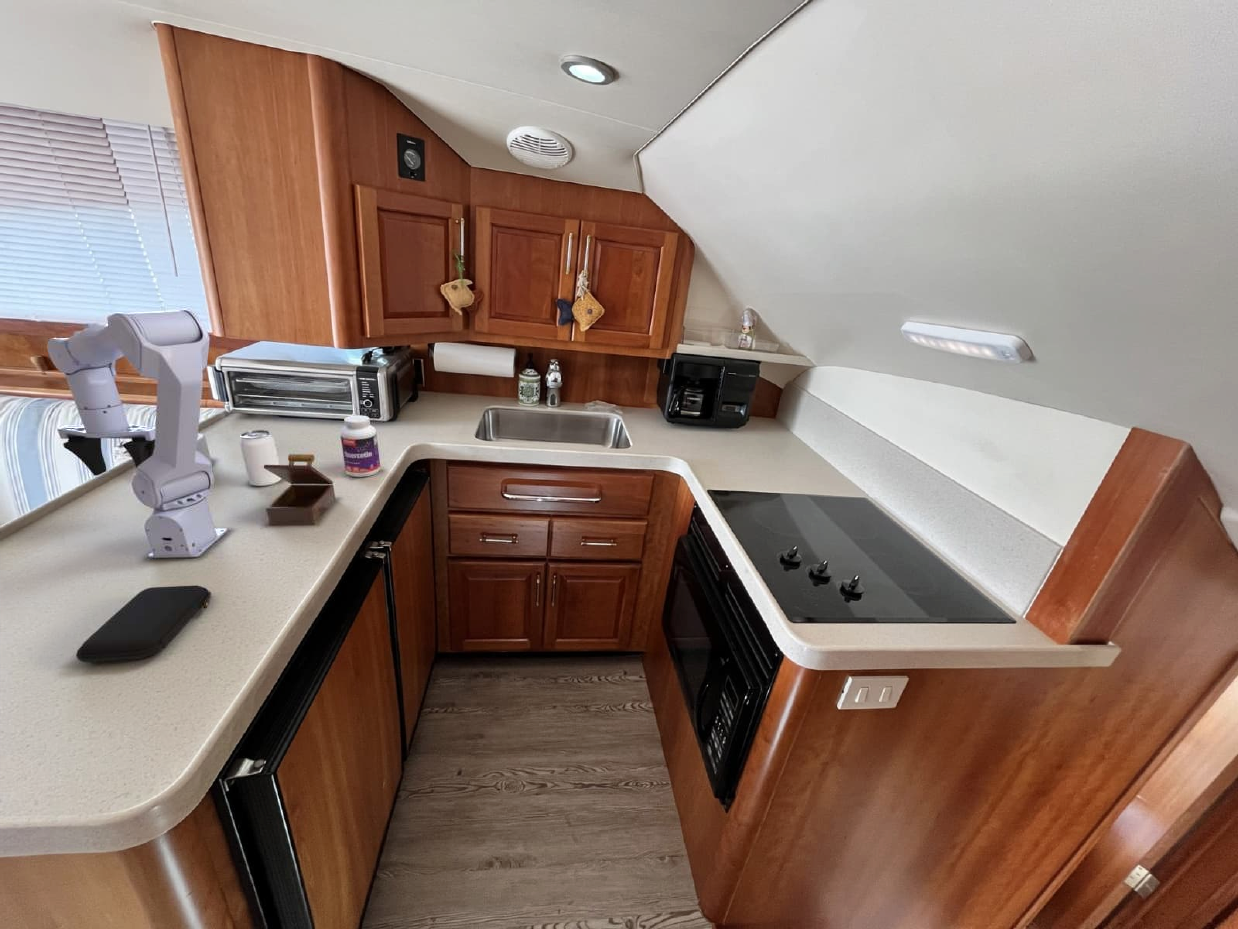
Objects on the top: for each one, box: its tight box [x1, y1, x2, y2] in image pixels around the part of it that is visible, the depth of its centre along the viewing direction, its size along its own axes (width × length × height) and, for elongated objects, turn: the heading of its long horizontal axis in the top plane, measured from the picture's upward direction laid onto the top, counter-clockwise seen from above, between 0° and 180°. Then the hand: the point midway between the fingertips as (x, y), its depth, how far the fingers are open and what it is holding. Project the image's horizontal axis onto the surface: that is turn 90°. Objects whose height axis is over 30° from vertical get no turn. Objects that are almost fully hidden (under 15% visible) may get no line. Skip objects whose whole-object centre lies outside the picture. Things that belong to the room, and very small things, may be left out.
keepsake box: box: [265, 484, 337, 525], centre depth 105 cm, size 11×9×4 cm
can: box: [239, 429, 282, 487], centre depth 115 cm, size 6×6×12 cm
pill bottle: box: [339, 414, 381, 478], centre depth 123 cm, size 8×8×14 cm
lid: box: [264, 453, 334, 485], centre depth 104 cm, size 12×9×5 cm
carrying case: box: [76, 585, 212, 664], centre depth 72 cm, size 11×3×15 cm
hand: (123, 473), depth 93 cm, fingers open, 7 cm apart
